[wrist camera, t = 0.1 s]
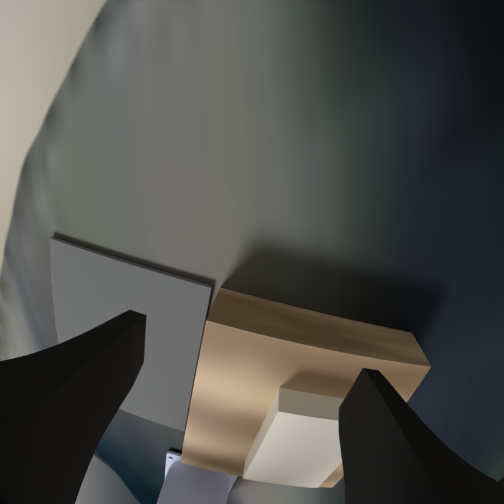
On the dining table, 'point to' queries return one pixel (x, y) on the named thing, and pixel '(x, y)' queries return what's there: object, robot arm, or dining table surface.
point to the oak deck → (281, 371)
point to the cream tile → (296, 441)
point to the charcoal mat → (143, 301)
